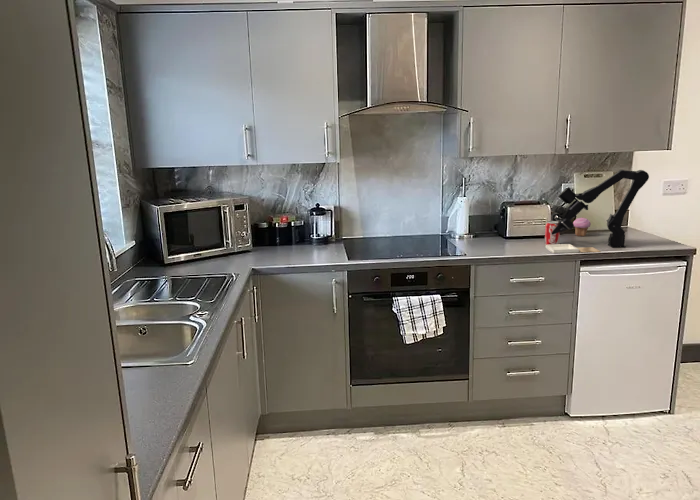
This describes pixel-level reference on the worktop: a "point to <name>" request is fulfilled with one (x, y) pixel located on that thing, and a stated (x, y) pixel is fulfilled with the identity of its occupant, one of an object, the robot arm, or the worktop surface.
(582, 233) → the cupcake
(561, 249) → the dish
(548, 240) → the soda can
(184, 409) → the worktop surface
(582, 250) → the cork mat
